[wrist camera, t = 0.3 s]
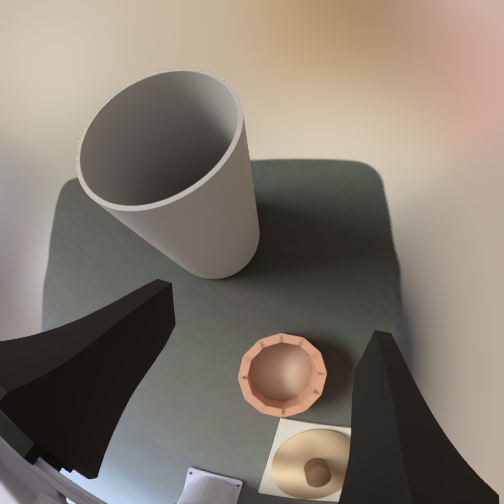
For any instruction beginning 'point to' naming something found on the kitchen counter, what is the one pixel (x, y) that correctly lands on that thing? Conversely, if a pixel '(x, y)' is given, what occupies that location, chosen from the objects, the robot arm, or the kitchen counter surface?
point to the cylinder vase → (176, 169)
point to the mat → (283, 433)
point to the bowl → (282, 375)
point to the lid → (311, 463)
